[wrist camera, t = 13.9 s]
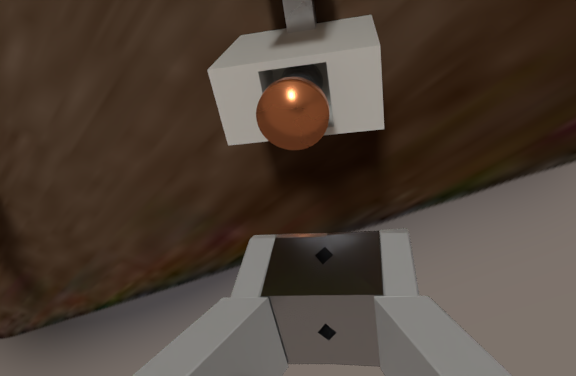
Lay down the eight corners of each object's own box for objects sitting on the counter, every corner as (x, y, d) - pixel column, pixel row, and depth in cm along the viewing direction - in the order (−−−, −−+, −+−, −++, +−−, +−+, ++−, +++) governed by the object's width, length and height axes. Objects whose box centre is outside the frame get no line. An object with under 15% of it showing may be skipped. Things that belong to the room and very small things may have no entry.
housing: (371, 14, 29) (380, 45, 22) (375, 81, 32) (384, 129, 24) (240, 35, 31) (207, 69, 24) (254, 96, 34) (228, 145, 26)
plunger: (328, 47, 25) (324, 76, 20) (335, 106, 28) (333, 146, 23) (267, 56, 26) (248, 86, 21) (278, 113, 28) (264, 153, 23)
